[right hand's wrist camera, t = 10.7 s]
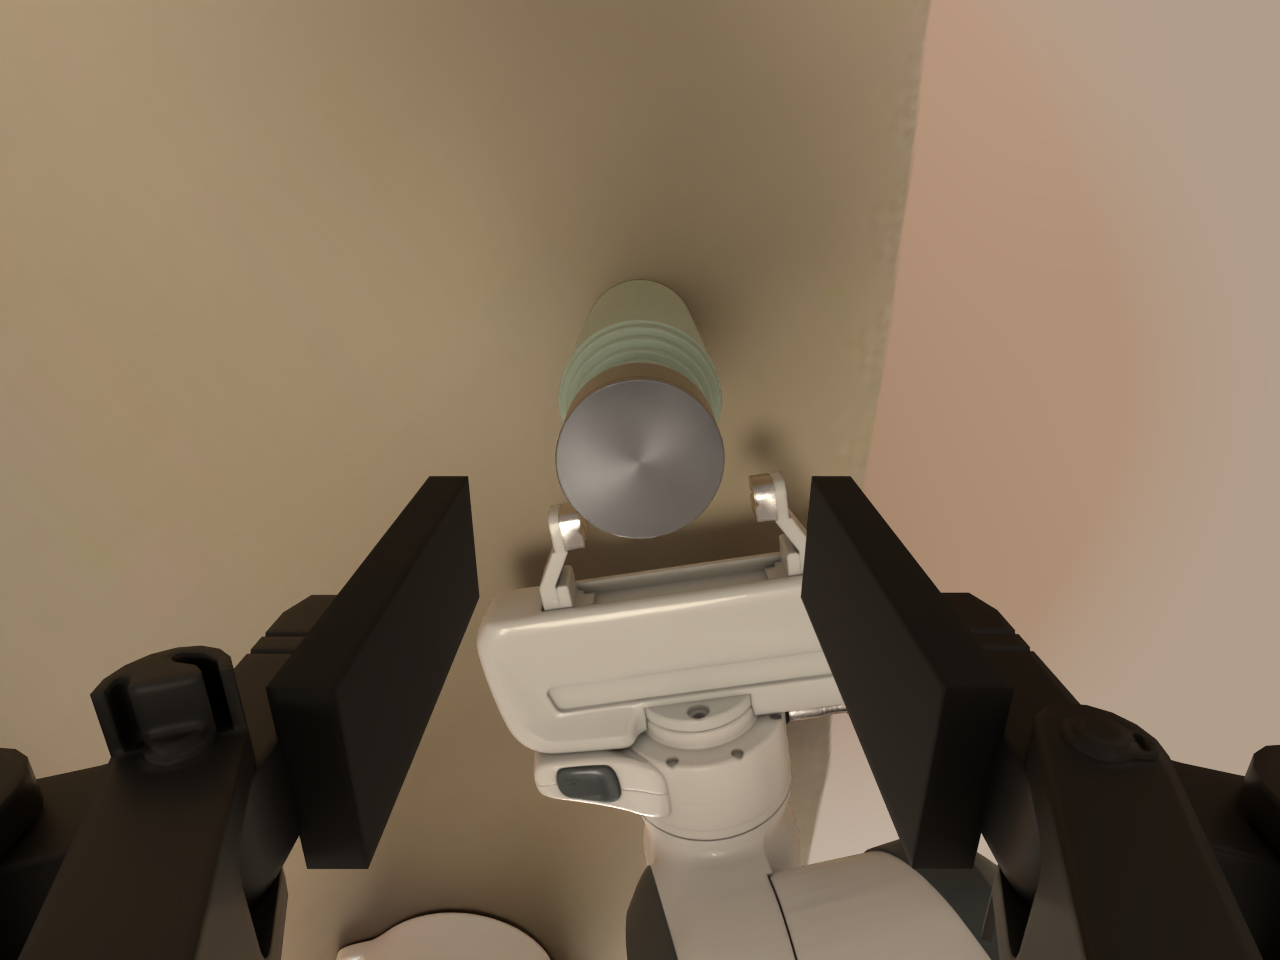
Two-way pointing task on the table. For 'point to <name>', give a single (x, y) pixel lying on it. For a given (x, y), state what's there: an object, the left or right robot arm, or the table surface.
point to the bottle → (640, 341)
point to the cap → (640, 451)
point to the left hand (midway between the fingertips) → (664, 492)
